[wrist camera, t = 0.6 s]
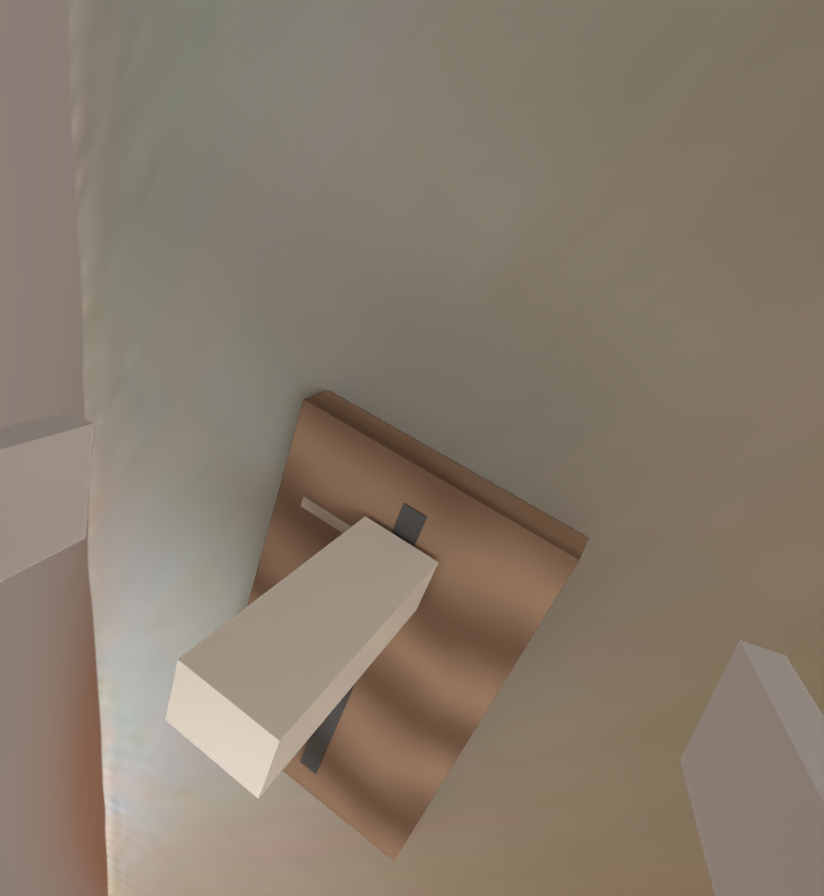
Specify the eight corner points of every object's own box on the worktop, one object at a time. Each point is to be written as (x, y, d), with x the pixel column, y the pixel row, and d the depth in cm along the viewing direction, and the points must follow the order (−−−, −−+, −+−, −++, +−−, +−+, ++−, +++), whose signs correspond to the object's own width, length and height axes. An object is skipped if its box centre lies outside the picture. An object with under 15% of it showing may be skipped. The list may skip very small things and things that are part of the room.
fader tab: (365, 516, 27) (177, 659, 18) (438, 562, 26) (279, 740, 17) (347, 564, 28) (165, 719, 19) (416, 609, 27) (258, 798, 18)
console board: (328, 390, 29) (302, 400, 27) (588, 538, 25) (578, 561, 23) (238, 696, 40) (215, 718, 38) (409, 832, 36) (392, 862, 34)
